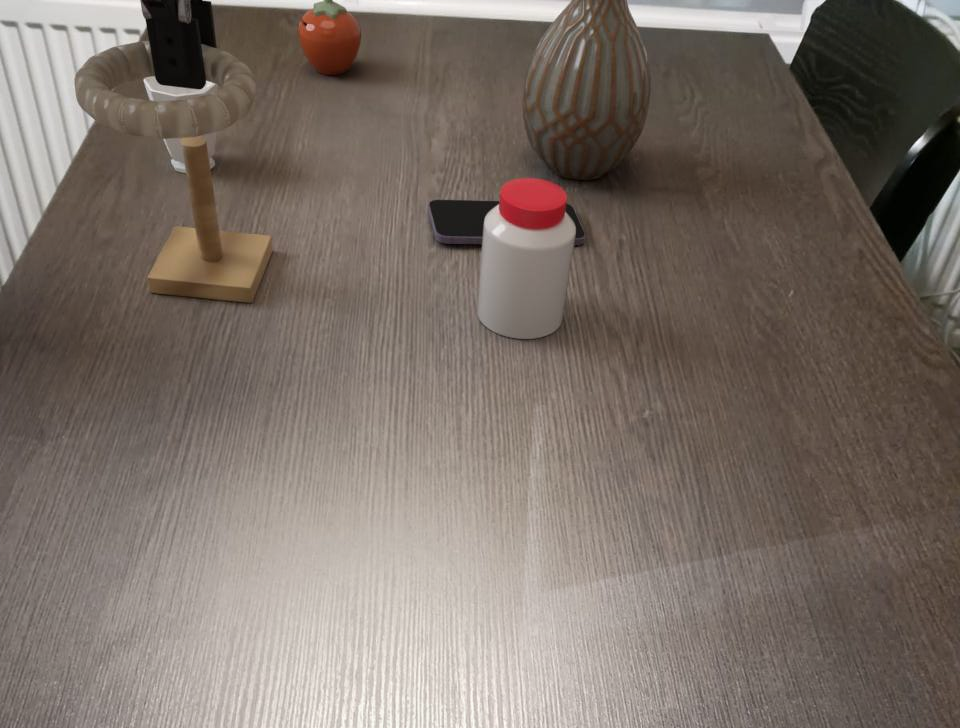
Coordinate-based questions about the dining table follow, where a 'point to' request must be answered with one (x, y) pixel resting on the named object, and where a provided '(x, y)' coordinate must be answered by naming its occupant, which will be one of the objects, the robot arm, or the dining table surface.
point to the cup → (179, 93)
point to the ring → (163, 115)
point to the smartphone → (473, 220)
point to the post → (208, 245)
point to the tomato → (329, 37)
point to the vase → (587, 89)
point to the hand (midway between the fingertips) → (188, 73)
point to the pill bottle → (526, 260)
